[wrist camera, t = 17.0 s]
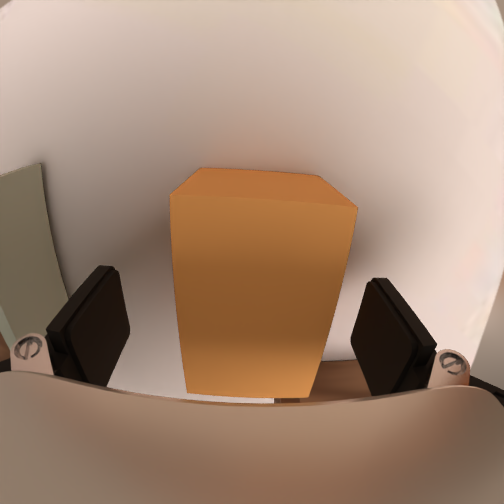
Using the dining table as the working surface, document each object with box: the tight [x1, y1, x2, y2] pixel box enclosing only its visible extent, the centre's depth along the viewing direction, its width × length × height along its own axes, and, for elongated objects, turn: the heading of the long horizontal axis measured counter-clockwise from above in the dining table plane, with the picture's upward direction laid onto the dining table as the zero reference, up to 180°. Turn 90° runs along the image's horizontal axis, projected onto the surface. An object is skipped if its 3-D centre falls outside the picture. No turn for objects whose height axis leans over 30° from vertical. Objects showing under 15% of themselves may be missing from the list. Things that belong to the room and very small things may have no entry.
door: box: [0, 163, 69, 351], centre depth 11 cm, size 13×2×5 cm, turn 178°
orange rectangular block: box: [170, 168, 358, 398], centre depth 11 cm, size 5×8×5 cm, turn 176°
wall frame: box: [0, 332, 372, 404], centre depth 13 cm, size 30×2×6 cm, turn 87°
